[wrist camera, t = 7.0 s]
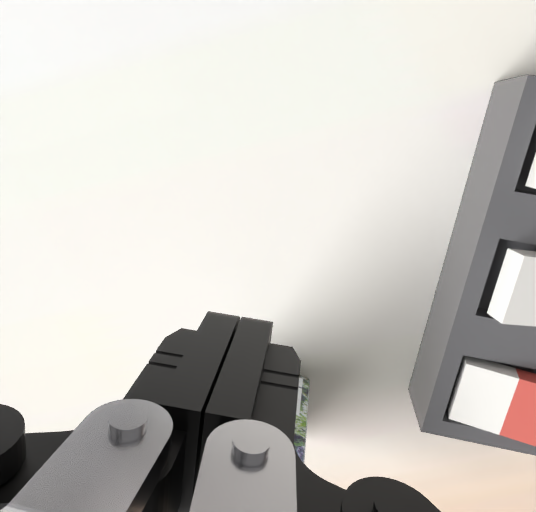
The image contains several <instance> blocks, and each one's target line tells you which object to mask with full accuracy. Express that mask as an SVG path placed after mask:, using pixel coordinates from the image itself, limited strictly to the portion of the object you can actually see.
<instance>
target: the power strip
mask: <svg viewBox="0 0 536 512" xmlns="http://www.w3.org/2000/svg"><path fill="white" fill-rule="evenodd" d="M535 154H536V76H535V75H524V76H520V77H515V78H511V79H507V80H503V81H498V82H495V83H494V86H493V90H492V93H491V97H490V101H489V104H488V108H487V111H486V115H485V118H484V122H483V125H482V129H481V133H480V136H479V140H478V143H477V147H476V150H475V154H474V157H473V161H472V165H471V168H470V172H469V175H468V179H467V182H466V186H465V189H464V193H463V196H462V200H461V204H460V207H459V211H458V214H457V218H456V221H455V225H454V228H453V232H452V236H451V239H450V243H449V246H448V250H447V253H446V257H445V260H444V264H443V268H442V271H441V275H440V278H439V282H438V285H437V289H436V292H435V296H434V300H433V303H432V307H431V310H430V314H429V317H428V321H427V324H426V328H425V331H424V335H423V339H422V342H421V346H420V349H419V353H418V356H417V360H416V363H415V367H414V371H413V374H412V378H411V381H410V385H409V388H408V390H409V393H410V397H411V400H412V403H413V407H414V410H415V413H416V417H417V420H418V423H419V427H420V430H421V432H426V433H431V434H435V435H440V436H445V437H450V438H455V439H459V440H464V441H469V442H474V443H478V444H483V445H488V446H493V447H498V448H502V449H507V450H512V451H517V452H522V453H526V454H531V455H536V446H533V445H529V444H526V443H523V442H520V441H517V440H514V439H511V438H507V437H504V436H501V435H498V434H495V433H492V432H489V431H485V430H482V429H479V428H476V427H473V426H470V425H467V424H463V423H460V422H457V421H454V420H451V419H449V415H448V405H449V402H450V399H451V396H452V393H453V390H454V386H455V383H456V380H457V377H458V374H459V371H460V367H461V364H462V361H463V358H464V356H469V357H475V358H480V359H485V360H488V361H492V362H495V363H499V364H503V365H506V366H510V367H513V368H517V369H520V370H524V371H528V372H531V373H535V374H536V326H523V325H509V324H501V323H500V322H499V321H497V320H496V319H494V318H493V317H492V316H490V315H489V314H487V311H488V308H489V305H490V302H491V299H492V296H493V292H494V289H495V286H496V283H497V280H498V277H499V274H500V271H501V268H502V264H503V261H504V258H505V255H506V252H507V249H508V248H510V249H519V250H527V251H536V189H535V188H531V187H528V186H525V185H526V182H527V179H528V176H529V172H530V169H531V166H532V163H533V160H534V157H535Z"/></svg>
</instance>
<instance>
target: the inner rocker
mask: <svg viewBox="0 0 536 512" xmlns="http://www.w3.org/2000/svg"><path fill="white" fill-rule="evenodd" d="M525 186H528V187H531V188H535V189H536V154H535V157H534V160H533V163H532V166H531V169H530V172H529V176H528V179H527V182H526V185H525Z"/></svg>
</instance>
